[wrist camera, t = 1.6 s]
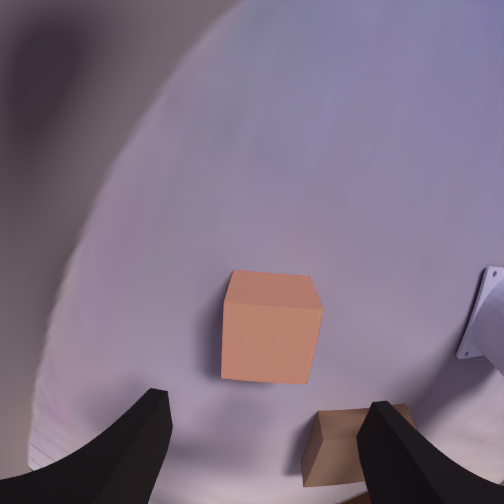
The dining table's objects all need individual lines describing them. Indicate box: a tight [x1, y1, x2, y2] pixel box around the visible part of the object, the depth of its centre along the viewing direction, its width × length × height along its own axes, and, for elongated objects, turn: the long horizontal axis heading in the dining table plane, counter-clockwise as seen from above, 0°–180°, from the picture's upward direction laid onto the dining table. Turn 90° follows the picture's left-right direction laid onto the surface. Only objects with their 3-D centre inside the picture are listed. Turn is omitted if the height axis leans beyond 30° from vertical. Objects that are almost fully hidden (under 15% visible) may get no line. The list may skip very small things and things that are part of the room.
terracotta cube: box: [221, 270, 323, 384], centre depth 16 cm, size 4×4×4 cm
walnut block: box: [301, 404, 417, 487], centre depth 20 cm, size 8×8×4 cm
